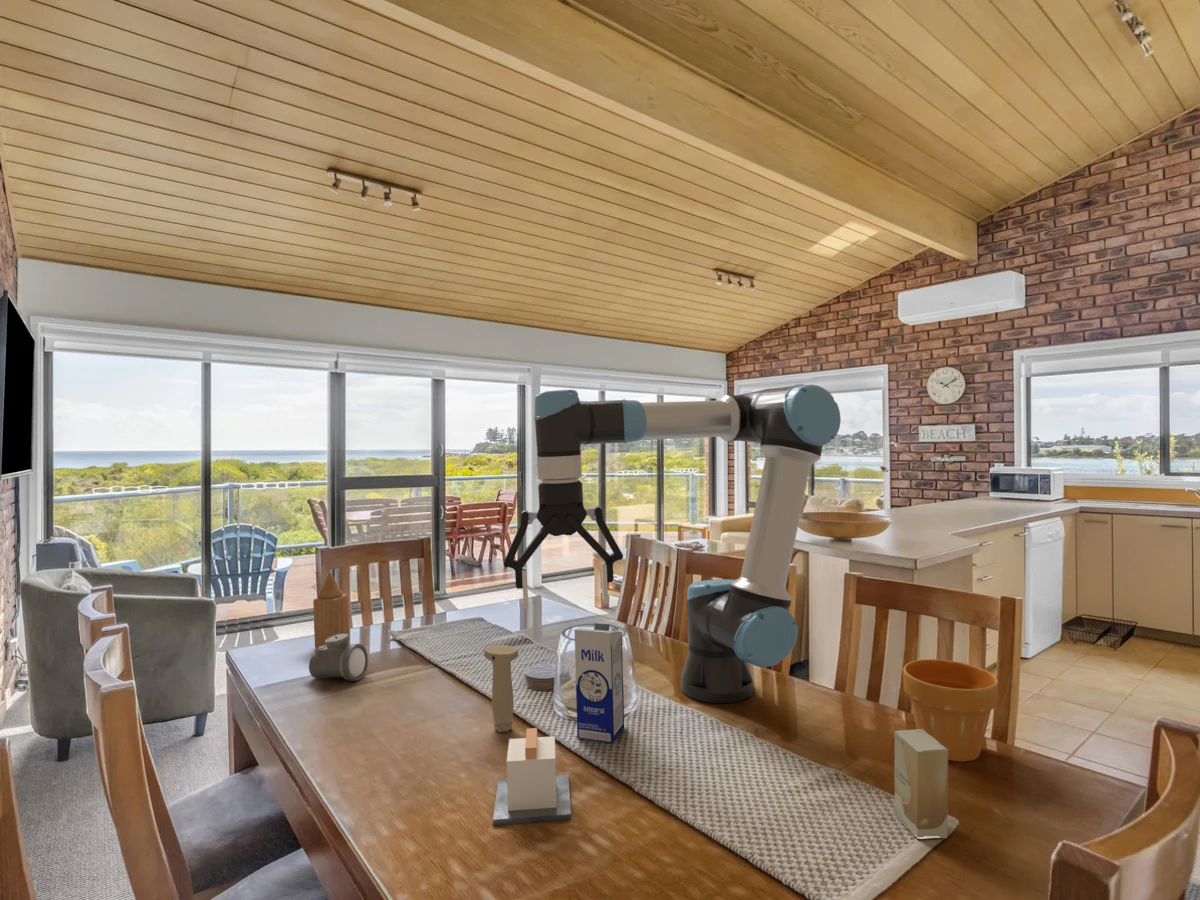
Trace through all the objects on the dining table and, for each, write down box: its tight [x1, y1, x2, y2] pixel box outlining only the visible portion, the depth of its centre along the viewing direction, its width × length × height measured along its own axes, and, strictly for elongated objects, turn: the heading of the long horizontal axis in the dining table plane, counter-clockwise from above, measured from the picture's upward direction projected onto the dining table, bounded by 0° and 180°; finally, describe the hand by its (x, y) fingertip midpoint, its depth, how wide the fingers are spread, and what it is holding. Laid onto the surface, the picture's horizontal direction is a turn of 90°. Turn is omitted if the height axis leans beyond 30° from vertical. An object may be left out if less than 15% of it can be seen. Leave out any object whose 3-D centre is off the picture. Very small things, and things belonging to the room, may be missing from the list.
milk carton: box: [573, 622, 625, 744], centre depth 120 cm, size 7×7×20 cm
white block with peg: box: [506, 727, 557, 811], centre depth 99 cm, size 7×7×9 cm
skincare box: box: [893, 728, 949, 839], centre depth 90 cm, size 6×4×12 cm
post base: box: [492, 774, 572, 826], centre depth 99 cm, size 11×11×5 cm
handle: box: [483, 644, 519, 733], centre depth 123 cm, size 5×6×15 cm
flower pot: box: [902, 658, 1000, 763], centre depth 111 cm, size 14×14×13 cm
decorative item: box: [312, 570, 351, 649], centre depth 176 cm, size 7×7×20 cm
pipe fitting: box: [308, 633, 369, 682], centre depth 152 cm, size 12×8×10 cm, turn 76°
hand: (565, 604), depth 113 cm, fingers open, 13 cm apart
